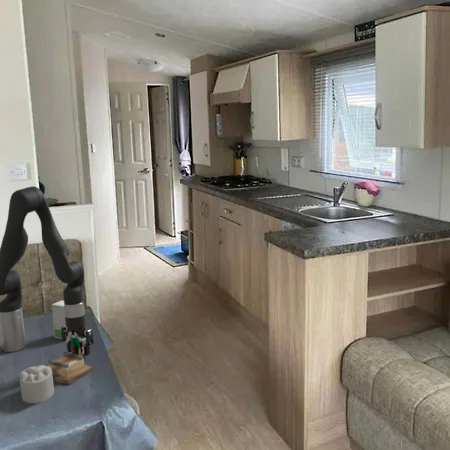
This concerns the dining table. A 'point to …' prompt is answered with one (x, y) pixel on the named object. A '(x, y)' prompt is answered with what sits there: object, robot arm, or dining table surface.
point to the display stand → (69, 368)
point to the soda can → (77, 346)
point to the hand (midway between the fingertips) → (78, 353)
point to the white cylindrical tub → (36, 384)
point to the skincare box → (58, 318)
